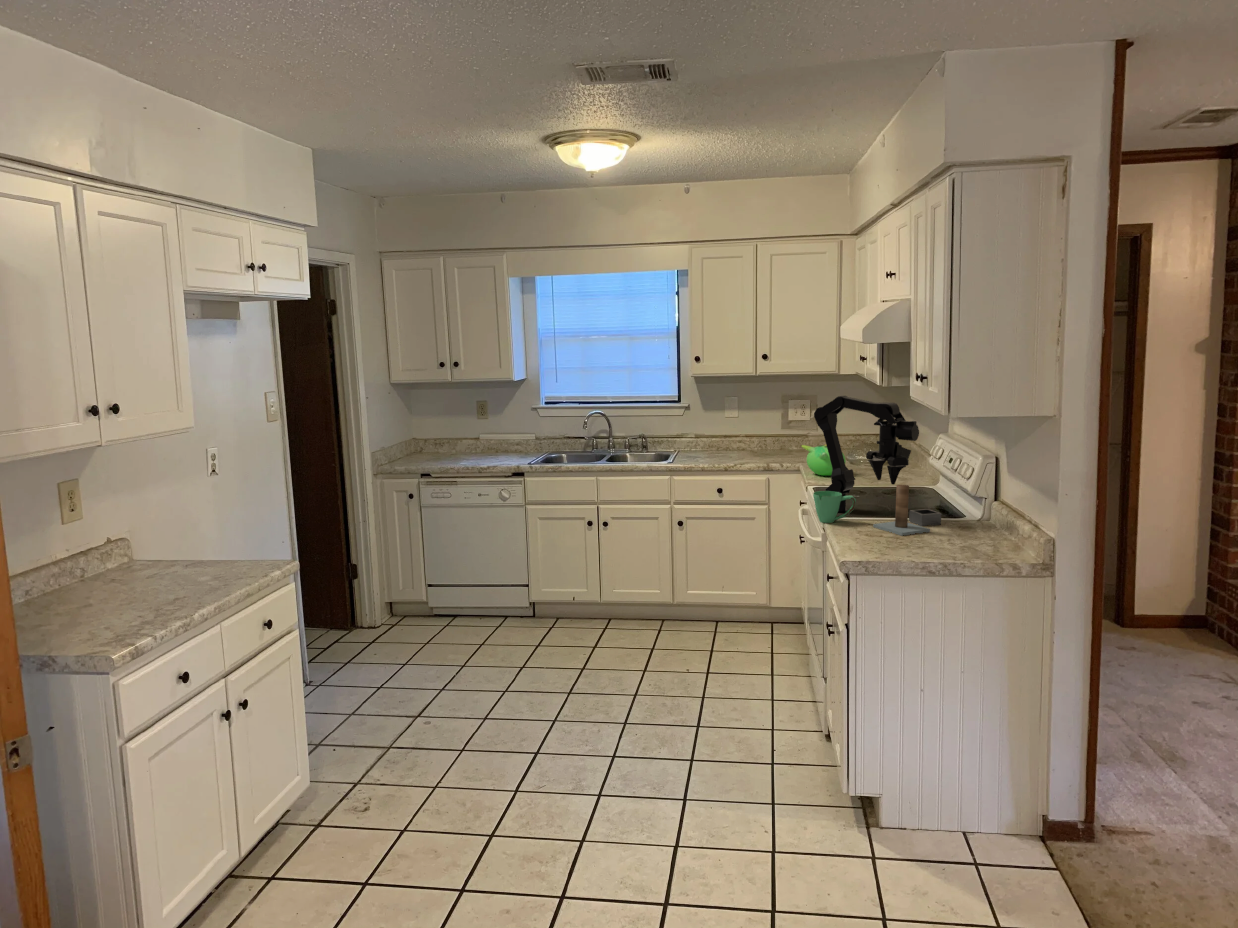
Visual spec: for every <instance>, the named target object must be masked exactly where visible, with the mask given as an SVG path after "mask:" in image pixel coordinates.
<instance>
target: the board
mask: <svg viewBox="0 0 1238 928" xmlns="http://www.w3.org/2000/svg"><path fill="white" fill-rule="evenodd" d="M872 527H873V528H876V529H879V530H881V531H885V532H888V531H889V533H891V532H892V534H894V533H895V534H894V535H898V536H902V537H904V536H910V534H911V535H916V534H915V533H919V534H924V533H923V532H926V533H931V529H930V528H928V527H926V526H920V525H917V524H914V523H912V522H908V526H907V527H906V528H898V527H895V520H894V521H887V522H880V523H873V525H872ZM903 535H904V536H903Z"/></svg>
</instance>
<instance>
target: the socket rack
mask: <svg viewBox="0 0 1238 928" xmlns="http://www.w3.org/2000/svg"><path fill="white" fill-rule="evenodd" d="M909 521H910V522H909ZM908 522H909V523H911V524H914V523H915V524H914V525H917V524H918V526H921V527H928V526H927V525H931V526H939V525H942V512H939V511H936V510H932V509H930V508H924V509H908Z"/></svg>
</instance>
